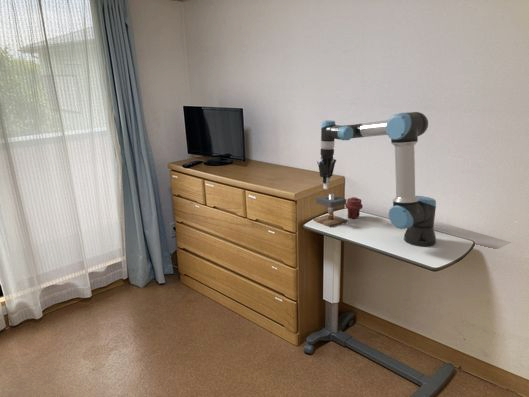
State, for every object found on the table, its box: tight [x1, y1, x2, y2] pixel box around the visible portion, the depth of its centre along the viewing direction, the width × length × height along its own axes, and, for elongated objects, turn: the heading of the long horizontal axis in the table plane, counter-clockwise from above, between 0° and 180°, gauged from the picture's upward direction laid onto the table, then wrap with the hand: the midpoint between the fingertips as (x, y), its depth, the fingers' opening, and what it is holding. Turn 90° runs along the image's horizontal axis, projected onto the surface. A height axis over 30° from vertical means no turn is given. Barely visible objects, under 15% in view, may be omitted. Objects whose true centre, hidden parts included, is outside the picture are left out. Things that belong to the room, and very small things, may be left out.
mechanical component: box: [344, 196, 363, 220], centre depth 241 cm, size 12×10×10 cm
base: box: [313, 214, 349, 228], centre depth 236 cm, size 14×14×2 cm
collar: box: [315, 195, 347, 208], centre depth 233 cm, size 12×12×3 cm
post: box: [327, 193, 335, 220], centre depth 234 cm, size 3×3×15 cm
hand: (325, 188), depth 235 cm, fingers closed
